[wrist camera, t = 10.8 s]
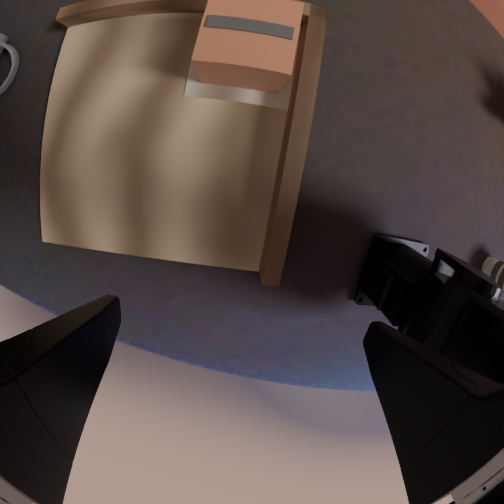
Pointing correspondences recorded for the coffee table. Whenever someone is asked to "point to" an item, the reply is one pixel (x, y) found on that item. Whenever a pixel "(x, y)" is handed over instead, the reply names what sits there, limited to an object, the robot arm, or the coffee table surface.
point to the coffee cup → (494, 270)
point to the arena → (171, 141)
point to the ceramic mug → (0, 44)
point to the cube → (248, 43)
